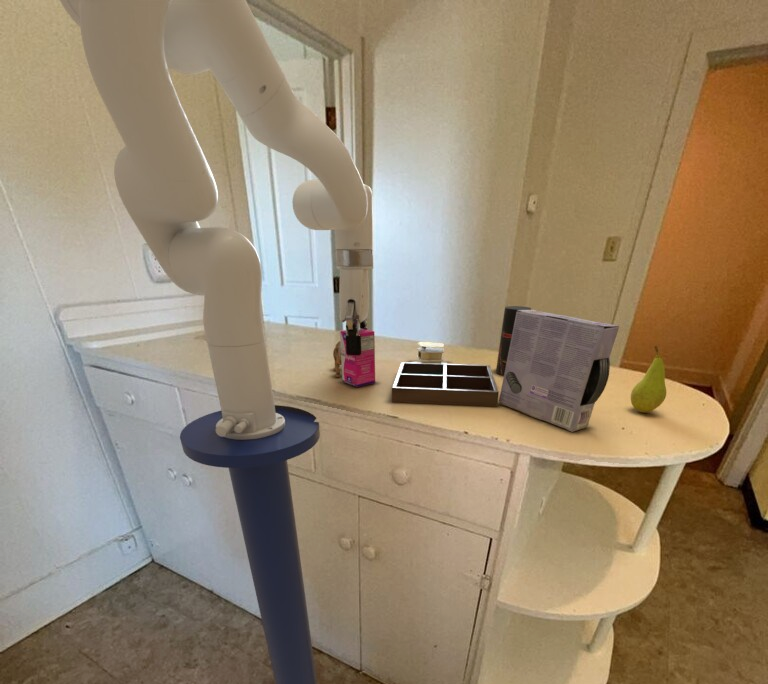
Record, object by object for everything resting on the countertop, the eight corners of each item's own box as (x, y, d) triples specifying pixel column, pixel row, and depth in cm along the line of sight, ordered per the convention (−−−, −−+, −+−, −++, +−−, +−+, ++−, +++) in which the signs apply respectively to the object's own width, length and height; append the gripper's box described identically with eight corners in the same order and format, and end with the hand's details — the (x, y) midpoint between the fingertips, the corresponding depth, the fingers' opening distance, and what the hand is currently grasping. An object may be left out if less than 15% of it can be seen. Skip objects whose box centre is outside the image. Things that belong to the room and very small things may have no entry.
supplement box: (341, 382, 100) (338, 330, 94) (361, 378, 103) (360, 327, 97) (355, 387, 96) (354, 333, 90) (376, 383, 99) (376, 330, 93)
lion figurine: (359, 379, 102) (358, 340, 97) (337, 381, 101) (335, 341, 96) (346, 364, 114) (345, 329, 109) (327, 366, 113) (324, 329, 108)
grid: (496, 406, 86) (498, 392, 84) (391, 402, 88) (391, 387, 87) (488, 377, 104) (489, 365, 102) (401, 374, 106) (401, 362, 104)
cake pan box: (595, 429, 76) (626, 322, 66) (577, 435, 74) (606, 325, 64) (513, 400, 90) (529, 308, 80) (496, 404, 87) (511, 310, 78)
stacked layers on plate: (447, 362, 116) (449, 341, 113) (448, 371, 109) (450, 348, 106) (411, 361, 117) (412, 340, 114) (409, 369, 110) (410, 347, 107)
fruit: (655, 419, 80) (679, 353, 74) (622, 412, 83) (642, 348, 77) (662, 411, 84) (685, 347, 77) (630, 405, 87) (650, 343, 81)
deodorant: (513, 369, 111) (523, 305, 103) (524, 375, 106) (535, 309, 98) (491, 370, 110) (500, 306, 102) (502, 376, 105) (512, 309, 97)
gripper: (345, 258, 94) (348, 342, 103) (326, 262, 79) (332, 359, 89) (378, 258, 93) (379, 343, 103) (366, 262, 79) (367, 360, 88)
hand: (357, 350), depth 96 cm, fingers closed on supplement box, 8 cm apart
